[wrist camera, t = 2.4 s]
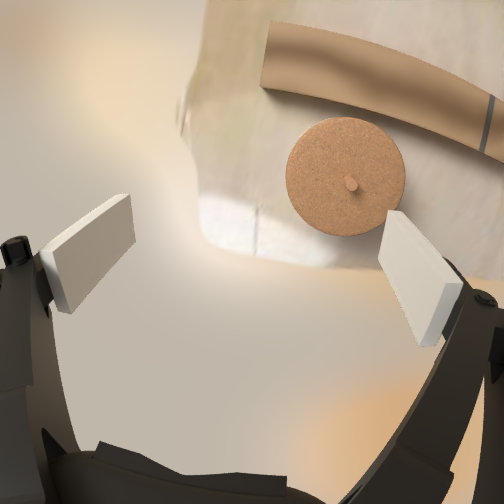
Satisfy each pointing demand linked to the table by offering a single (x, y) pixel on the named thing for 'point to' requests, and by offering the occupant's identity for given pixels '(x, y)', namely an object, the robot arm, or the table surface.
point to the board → (382, 84)
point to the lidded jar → (344, 176)
